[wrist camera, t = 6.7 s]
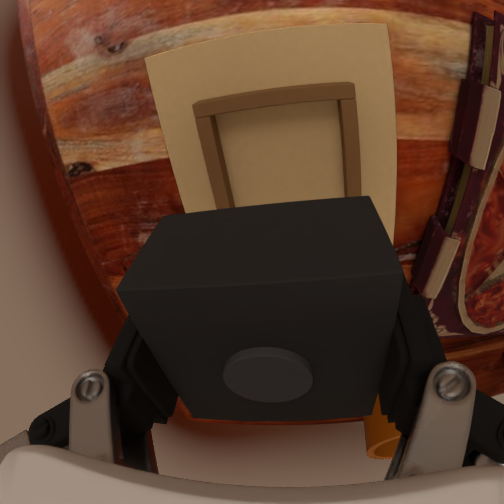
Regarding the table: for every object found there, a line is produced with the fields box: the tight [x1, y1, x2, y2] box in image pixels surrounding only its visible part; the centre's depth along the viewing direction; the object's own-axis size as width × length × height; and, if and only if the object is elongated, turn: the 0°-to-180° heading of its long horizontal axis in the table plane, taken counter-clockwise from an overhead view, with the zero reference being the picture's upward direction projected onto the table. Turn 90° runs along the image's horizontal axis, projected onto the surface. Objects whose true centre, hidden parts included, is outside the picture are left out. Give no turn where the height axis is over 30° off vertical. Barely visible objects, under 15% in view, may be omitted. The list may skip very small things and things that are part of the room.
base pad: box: [145, 23, 397, 245], centre depth 21 cm, size 16×18×2 cm
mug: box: [363, 394, 401, 459], centre depth 33 cm, size 9×12×9 cm
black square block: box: [116, 196, 404, 421], centre depth 10 cm, size 6×6×4 cm
